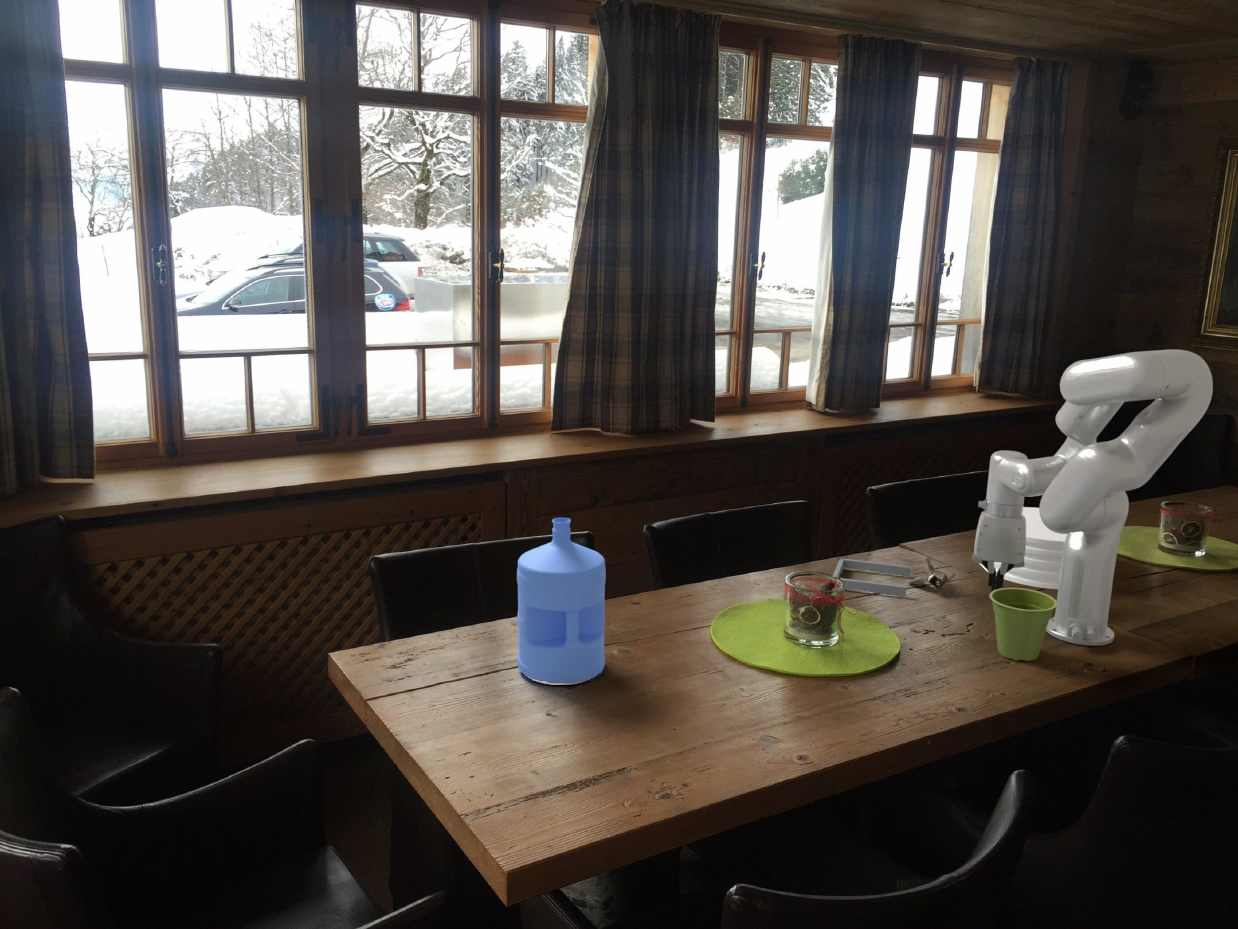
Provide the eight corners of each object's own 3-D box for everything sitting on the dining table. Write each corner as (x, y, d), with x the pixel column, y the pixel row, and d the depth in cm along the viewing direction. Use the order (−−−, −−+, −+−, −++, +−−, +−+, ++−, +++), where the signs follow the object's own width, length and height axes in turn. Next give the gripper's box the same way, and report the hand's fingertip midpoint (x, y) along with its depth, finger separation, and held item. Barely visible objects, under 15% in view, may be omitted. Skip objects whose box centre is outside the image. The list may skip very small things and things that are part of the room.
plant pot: (990, 637, 198) (996, 583, 195) (1055, 650, 192) (1062, 595, 189) (977, 658, 188) (983, 601, 185) (1045, 673, 182) (1052, 615, 179)
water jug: (508, 657, 185) (506, 512, 179) (588, 646, 191) (589, 504, 184) (531, 694, 171) (530, 537, 164) (617, 680, 176) (619, 528, 170)
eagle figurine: (959, 585, 223) (930, 566, 230) (952, 564, 219) (923, 546, 226) (934, 606, 221) (905, 587, 229) (927, 586, 217) (898, 566, 224)
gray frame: (905, 598, 217) (906, 587, 217) (830, 589, 223) (831, 578, 222) (909, 576, 231) (910, 566, 231) (839, 568, 236) (840, 558, 236)
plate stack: (964, 549, 252) (968, 505, 250) (1077, 552, 251) (1082, 508, 249) (1001, 588, 225) (1006, 539, 222) (1127, 592, 224) (1134, 543, 221)
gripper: (966, 509, 213) (958, 591, 217) (1042, 517, 208) (1032, 600, 212) (967, 500, 220) (959, 579, 224) (1040, 508, 215) (1031, 588, 219)
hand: (994, 589), depth 218 cm, fingers closed
